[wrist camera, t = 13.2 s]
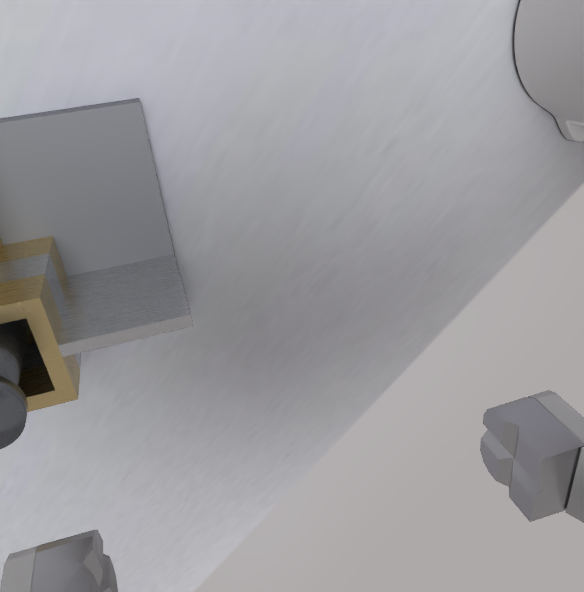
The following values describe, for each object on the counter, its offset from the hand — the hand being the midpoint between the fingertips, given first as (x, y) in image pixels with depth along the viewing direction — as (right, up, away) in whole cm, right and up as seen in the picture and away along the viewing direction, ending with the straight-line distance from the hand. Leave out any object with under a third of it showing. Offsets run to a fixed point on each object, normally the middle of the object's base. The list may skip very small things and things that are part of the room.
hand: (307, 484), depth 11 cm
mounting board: (-17, +8, +27) cm, 33 cm away
